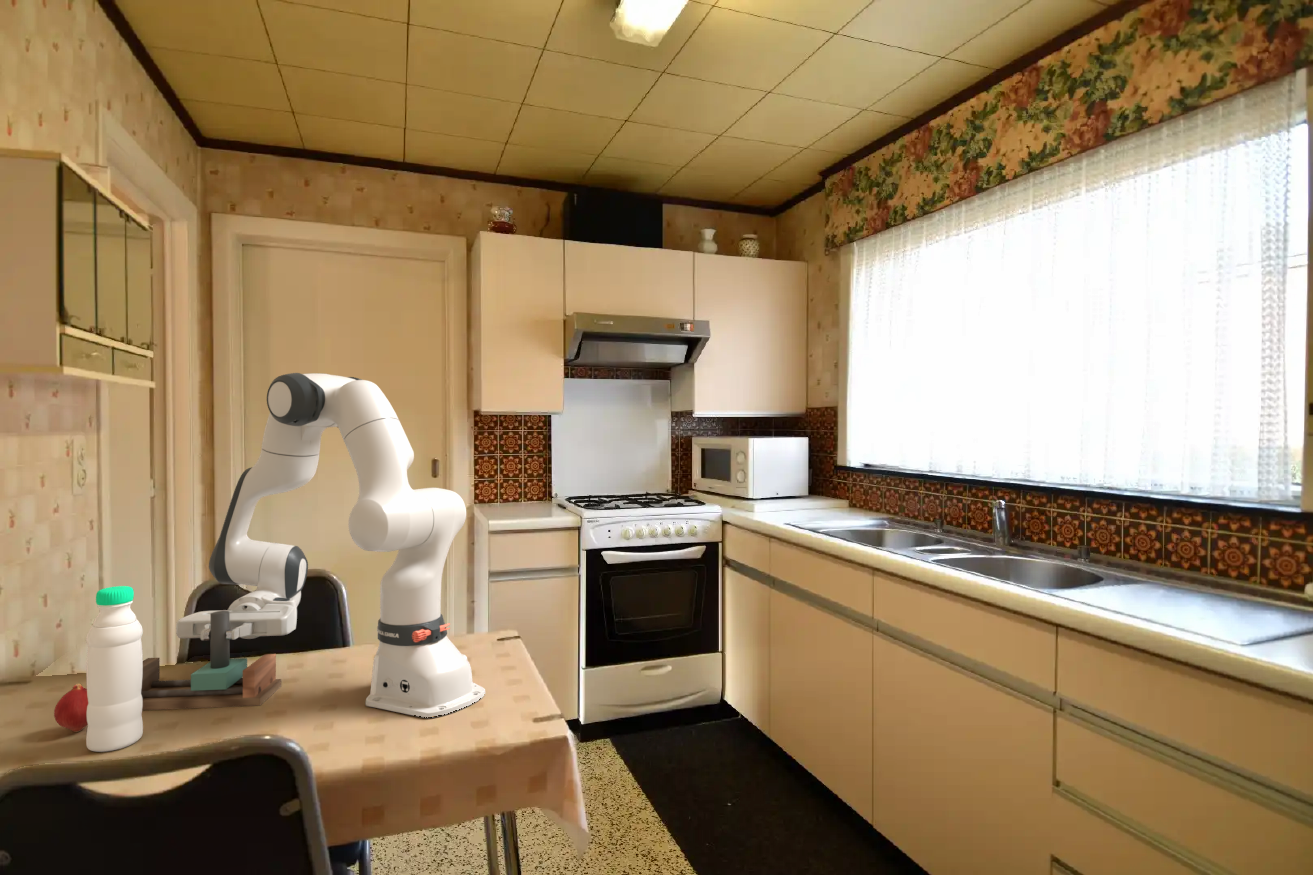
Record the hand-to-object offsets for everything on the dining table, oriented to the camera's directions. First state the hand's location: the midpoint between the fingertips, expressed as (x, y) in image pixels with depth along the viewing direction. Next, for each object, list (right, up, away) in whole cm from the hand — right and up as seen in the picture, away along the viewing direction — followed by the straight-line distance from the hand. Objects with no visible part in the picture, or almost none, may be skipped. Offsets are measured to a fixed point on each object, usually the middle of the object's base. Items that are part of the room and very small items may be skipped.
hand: (217, 635), depth 125 cm
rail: (-3, -12, +1) cm, 12 cm away
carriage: (0, -9, +1) cm, 9 cm away
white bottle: (-5, -12, -17) cm, 22 cm away
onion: (-15, -12, -13) cm, 23 cm away
